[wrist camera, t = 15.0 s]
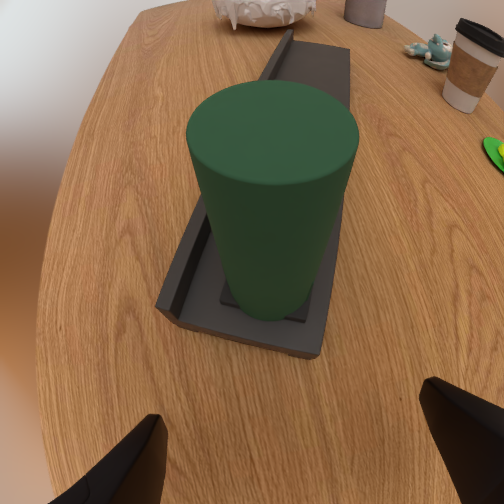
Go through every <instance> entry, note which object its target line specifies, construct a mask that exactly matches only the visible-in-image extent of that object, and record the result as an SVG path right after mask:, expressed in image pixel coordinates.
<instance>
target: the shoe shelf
mask: <svg viewBox="0 0 504 504" xmlns="http://www.w3.org/2000/svg"><path fill="white" fill-rule="evenodd" d="M293 33H294V30H290V29H287V31H286V33H285V34H284V36H283V38H282V39H281V41H280V43H279V44H278V46H277V48H276V49H275V51H274V53H273V54H272V56H271V58H270V60H269V61H268V63H267V65H266V67H265V69H264V70H263V72H262V74H261V76H260V77H259V79H258V81H260V80H281V81H290V82H296V83H301V84H305V85H308V86H311V87H314V88H317V89H319V90H321V91H324V92H326V93H327V94H329V95H331V96H333V97H334V98H336V99H337V100H338V101H340V102H341V103H342V104H343V105H344V106H345V107H346V108H347V109H348V110H349V107H350V49H346V48H341V47H336V46H330V45H324V44H318V43H311V42H303V41H295V40H293ZM343 200H344V195H343V199H342V202H341V205H340V208H339V211H338V214H337V217H336V220H335V223H334V226H333V229H332V232H331V235H330V238H329V241H328V244H327V247H326V250H325V253H324V255H323V258H322V261H321V264H320V267H319V269H318V272H317V275H316V278H315V280H314V285H313V290H312V296H311V301H310V306H309V311H308V316H307V320H306V322H305V323H300V322H295V321H290V320H286V319H283V320H279V321H262V320H258V319H255V318H253V317H251V316H249V315H247V314H246V313H244V312H243V311H242V310H241V309H238V308H234V307H230V306H226V305H222V304H221V303H220V301H219V299H220V296H221V292H222V289H223V286H224V283H225V280H226V277H225V273H224V270H223V267H222V264H221V263H222V262H221V259H220V256H219V252H218V249H217V246H216V242H215V239H214V236H213V232H212V229H211V226H210V222H209V219H208V215H207V212H206V208H205V205H204V201H203V198H202V195H200V198H199V200H198V202H197V204H196V207H195V209H194V211H193V213H192V216H191V218H190V220H189V223H188V225H187V227H186V230H185V232H184V234H183V237H182V239H181V241H180V244H179V246H178V249H177V251H176V253H175V256H174V258H173V261H172V263H171V266H170V268H169V271H168V273H167V276H166V278H165V281H164V284H163V286H162V289H161V291H160V294H159V297H158V299H157V302H156V305H155V307H156V308H157V309H158V310H159V311H160V312H161V313H162V314H163V315H164V316H165V317H167V318H168V319H169V320H170V321H171V322H172V323H173V324H176V325H177V326H178V327H181V328H184V329H188V330H191V331H194V332H198V331H200V332H204V333H207V334H211V335H214V336H218V337H222V338H225V339H229V340H233V341H237V342H241V343H245V344H249V345H253V346H257V347H261V348H265V349H270V350H274V351H278V352H283V353H287V354H288V355H289V356H293V357H298V358H303V359H308V360H311V359H315V358H317V357H318V356H319V355H320V351H321V346H322V341H323V336H324V331H325V326H326V320H327V315H328V309H329V304H330V298H331V292H332V285H333V279H334V273H335V266H336V259H337V252H338V244H339V236H340V228H341V219H342V210H343Z"/></svg>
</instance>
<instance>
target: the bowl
mask: <svg viewBox="0 0 504 504" xmlns="http://www.w3.org/2000/svg"><path fill="white" fill-rule="evenodd" d="M212 3H213V6H214V10H215V13H216V16H217V17H218V18H220V19H221V17H222V15H224V16H226V17H227V18H229V19H230V20H231V23H232V26H233V29H234V30H236V25H237V23H239V24H242V25H247V26H254V27H263V28H272V27H281V26H287V25H289V24H291V23H294V22H296V21H299V20H300V19H301V18H303V17H304V16H305V15H306V14H307V13H309V12H310V11H311V13H312V14H313V15H314V11H315V12H316V0H212ZM221 20H222V19H221Z"/></svg>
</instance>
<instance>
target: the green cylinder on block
mask: <svg viewBox="0 0 504 504" xmlns="http://www.w3.org/2000/svg"><path fill="white" fill-rule="evenodd" d="M186 140H187V144H188V148H189V152H190V155H191V159H192V162H193V166H194V170H195V173H196V177H197V180H198V184H199V187H200V191H201V195H202V198H203V201H204V205H205V208H206V212H207V215H208V219H209V222H210V226H211V229H212V232H213V236H214V239H215V242H216V246H217V249H218V252H219V256H220V259H221V262H222V263H221V264H222V267H223V270H224V273H225V277H226V280H225V283H224V286H223V289H222V292H221V296H220V299H219V301H220V303H221V304H222V305H226V306H230V307H234V308H238V309H241V310H242V311H243V312H244V313H246V314H247V315H249V316H251V317H253V318H255V319H258V320H262V321H279V320H283V319H286V320H290V321H295V322H300V323H305V322H306V320H307V316H308V311H309V306H310V301H311V296H312V290H313V285H314V280H315V278H316V275H317V272H318V269H319V267H320V264H321V261H322V258H323V255H324V253H325V250H326V247H327V244H328V241H329V238H330V235H331V232H332V229H333V226H334V223H335V220H336V217H337V214H338V211H339V208H340V205H341V202H342V199H343V195H344V192H345V189H346V186H347V182H348V179H349V176H350V172H351V169H352V166H353V162H354V159H355V155H356V152H357V148H358V144H359V130H358V126H357V123H356V121H355V119H354V117H353V115H352V114H351V113H350V111H349V110H348V109H347V108H346V107H345V106H344V105H343V104H342V103H341V102H340V101H338V100H337V99H336V98H334V97H333V96H331V95H329V94H327V93H326V92H324V91H321V90H319V89H317V88H314V87H311V86H308V85H305V84H301V83H296V82H290V81H281V80H260V81H252V82H246V83H241V84H238V85H234V86H231V87H228V88H226V89H223V90H221V91H219V92H217V93H215V94H213V95H212V96H210V97H209V98H207V99H206V100H205V101H203V102H202V103H201V104H200V105H199V106H198V107H197V108H196V109H195V111H194V112H193V114H192V115H191V117H190V119H189V122H188V125H187V129H186Z"/></svg>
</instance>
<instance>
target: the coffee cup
mask: <svg viewBox="0 0 504 504" xmlns="http://www.w3.org/2000/svg"><path fill="white" fill-rule="evenodd" d="M455 29H456V31H457V34H456V39H455V41H454V43H453V48H452V53H451V58H450V63H449V68H448V72H447V78H446V81H445V85H444V89H443V92H442V96H443V98H444V99H445V100H446V101H447V102H448V103H449V104H450V105H451V106H453V107H454V108H456V109H458V110H460V111H462V112H464V113H472V112H473V110H474V109H475V107H476V105H477V103H478V102H479V100H480V98H481V97H482V95H483V93H484V92H485V90H486V88H487V86H488V85H489V83H490V81H491V79H492V77H493V75H494V74H495V72H496V70H497V68H498V66H497V65H498V63H499V61H500V59H501V57H503V58H504V38H502V37H501V36H500V35H498V34H497V33H495V32H493V31H492V30H490V29H489V28H487V27H485V26H483V25H480V24H478V23H475V22H472V21H469V20H467V19H463V18H460V20H459V22H458V24H457V25H456V28H455Z"/></svg>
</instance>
